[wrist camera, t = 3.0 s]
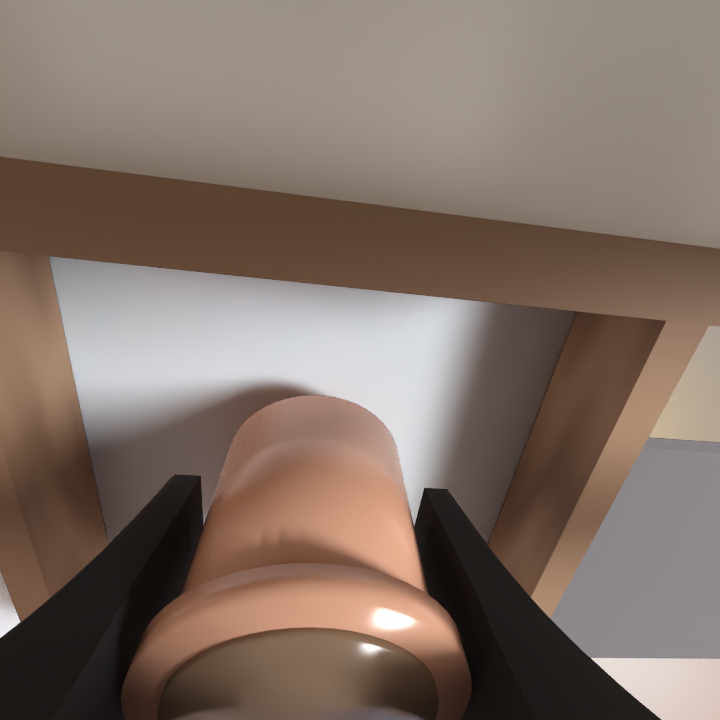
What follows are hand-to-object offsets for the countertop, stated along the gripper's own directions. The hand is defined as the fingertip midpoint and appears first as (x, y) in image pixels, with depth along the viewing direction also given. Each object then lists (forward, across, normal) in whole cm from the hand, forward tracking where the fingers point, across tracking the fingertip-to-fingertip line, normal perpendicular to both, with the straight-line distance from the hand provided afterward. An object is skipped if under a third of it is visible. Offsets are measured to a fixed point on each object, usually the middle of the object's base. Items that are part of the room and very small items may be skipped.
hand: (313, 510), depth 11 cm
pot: (+2, 0, 0) cm, 2 cm away
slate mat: (+3, -16, +5) cm, 17 cm away
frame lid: (-11, 0, -10) cm, 15 cm away
